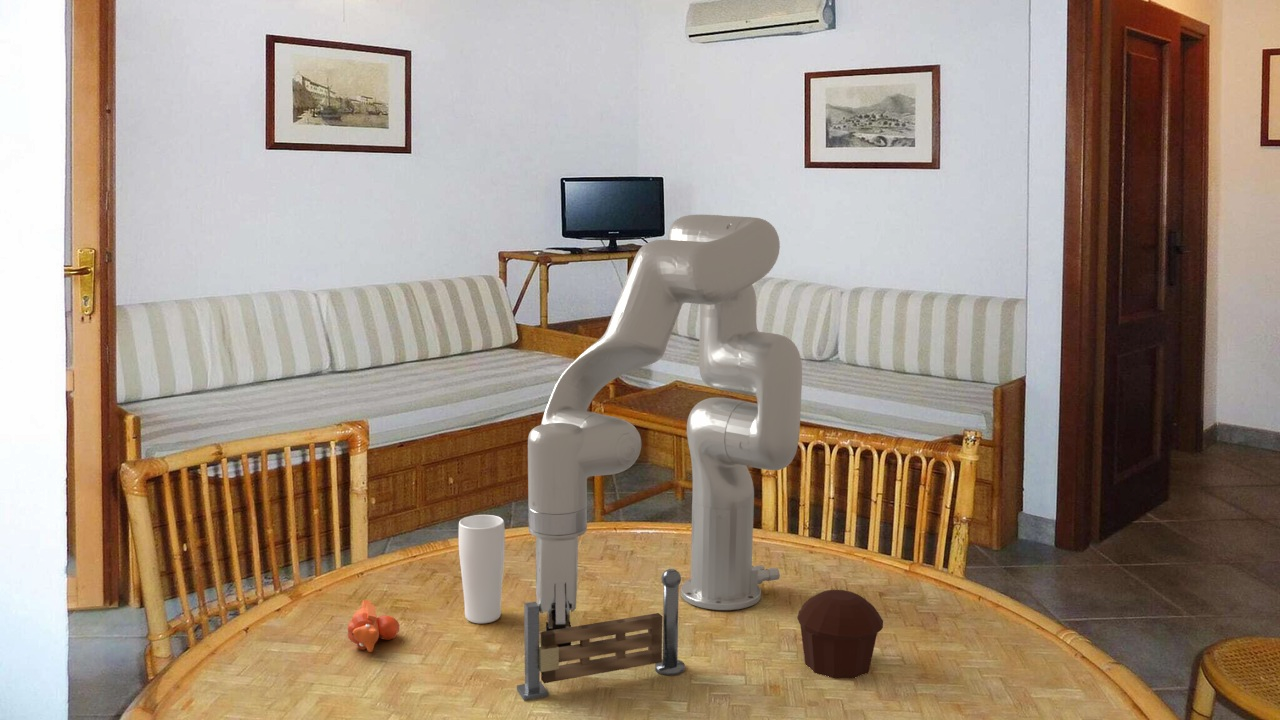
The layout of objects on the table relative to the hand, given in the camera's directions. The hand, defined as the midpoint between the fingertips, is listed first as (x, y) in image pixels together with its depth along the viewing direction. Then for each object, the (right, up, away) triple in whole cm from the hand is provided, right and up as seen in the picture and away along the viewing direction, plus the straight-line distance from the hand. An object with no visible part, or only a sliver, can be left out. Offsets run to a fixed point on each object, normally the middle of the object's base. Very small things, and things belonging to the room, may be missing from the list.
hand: (558, 652), depth 151 cm
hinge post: (+15, -3, +3) cm, 15 cm away
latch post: (-3, -4, -4) cm, 7 cm away
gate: (+6, -2, -1) cm, 6 cm away
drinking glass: (-13, 0, +20) cm, 23 cm away
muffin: (+38, -3, +5) cm, 38 cm away
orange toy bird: (-27, -2, +11) cm, 29 cm away
